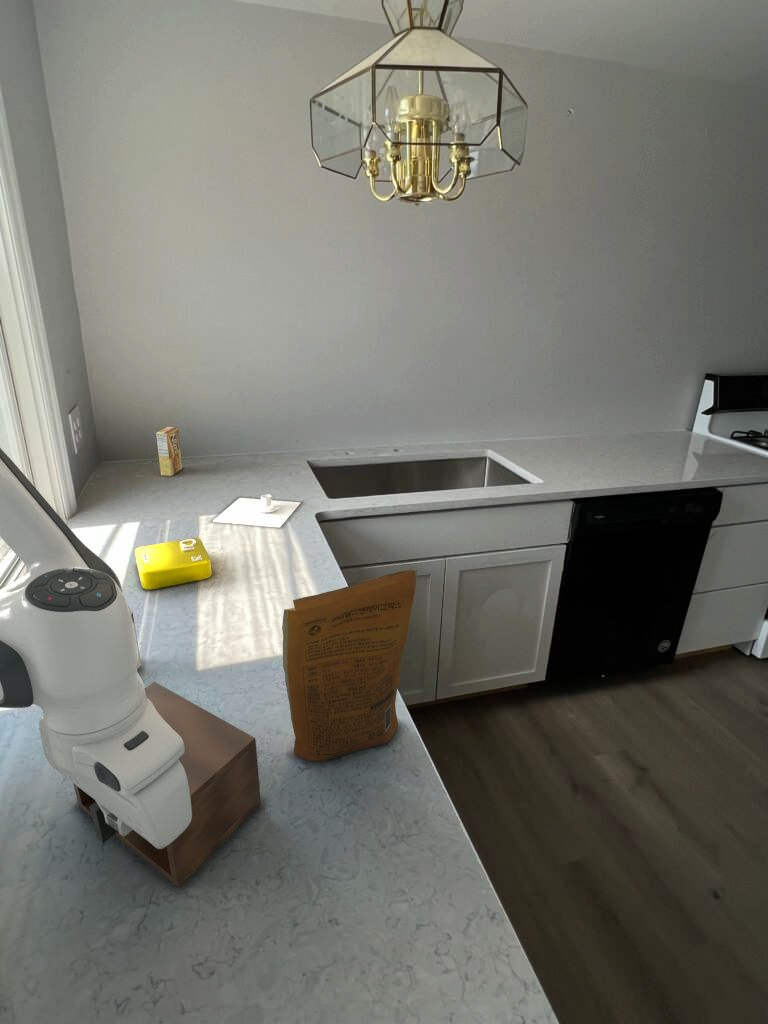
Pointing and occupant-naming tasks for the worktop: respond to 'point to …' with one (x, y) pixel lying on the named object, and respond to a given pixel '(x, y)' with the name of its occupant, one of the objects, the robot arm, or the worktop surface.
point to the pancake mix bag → (346, 664)
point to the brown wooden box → (200, 785)
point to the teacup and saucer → (258, 512)
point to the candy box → (169, 451)
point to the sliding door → (101, 824)
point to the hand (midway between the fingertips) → (122, 825)
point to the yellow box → (172, 563)
